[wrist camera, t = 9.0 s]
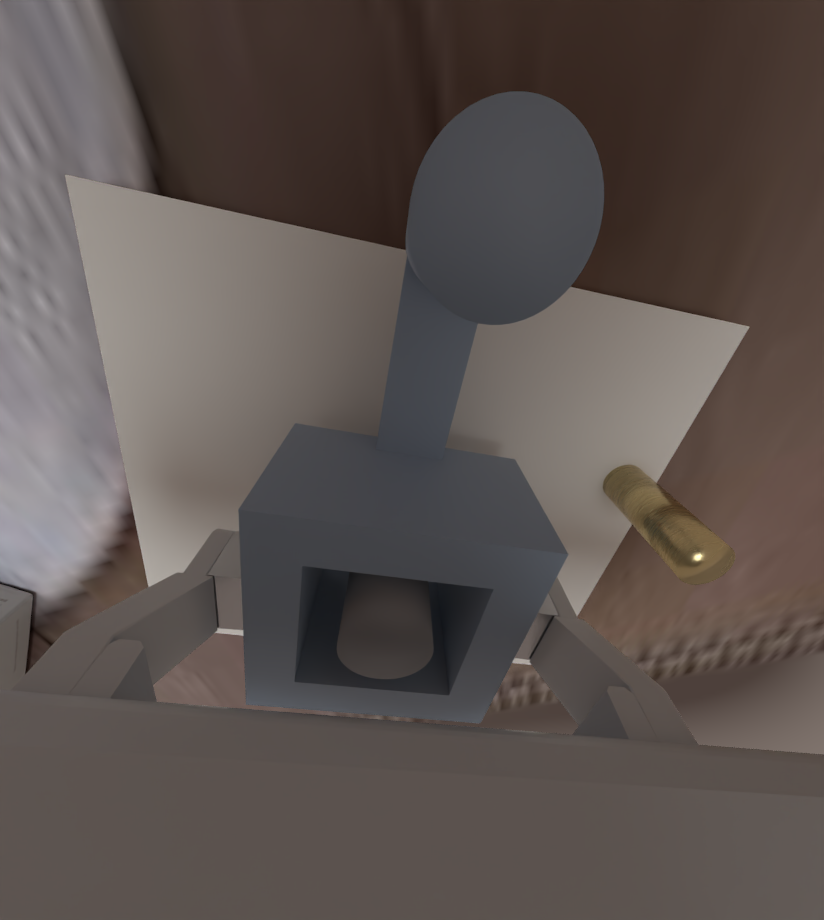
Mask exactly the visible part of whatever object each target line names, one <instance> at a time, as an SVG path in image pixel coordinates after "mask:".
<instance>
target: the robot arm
mask: <svg viewBox="0 0 824 920" xmlns="http://www.w3.org/2000/svg"><path fill="white" fill-rule="evenodd" d="M217 628H220V629H234V630H243V613H242V588H241V563H240V538H239V531H231V530H224V529H218V528H217V529H216V530H214V531H213V532H212V533H211V534H210V536H209V537H208V539H207V540H206V541H205V543H204V544H203V546H202V547H201V548H200V550H199V551H198V553H197V554H196V555H195V557H194V558H193V560H192V561H191V562H190V564H189V565H188V567H187V568H186V570H185V571H184V572H183V573H179V572H177V573H175V574H173V575H171V576H169V577H167V578H165V579H163V580H161V581H160V582H158V583H156V584H154V585H152V586H150V587H148V588H146V589H144V590H142V591H141V592H139V593H137V594H135V595H133V596H131V597H129V598H127V599H125V600H124V601H122V602H120V603H118V604H116V605H114V606H112V607H110V608H108V609H106V610H105V611H103V612H101V613H99V614H97V615H95V616H93V617H91V618H89V619H88V620H86V621H84V622H82V623H80V624H78V625H76V626H74V627H72V628H71V629H69V630H67V631H65V632H64V633H63V634H62V635H61V636H60V637H59V638H58V639H57V641H56V642H55V643H54V644H53V645H52V646H51V647H50V648H49V649H48V650H47V651H46V653H45V654H44V655H43V656H42V657H41V658H40V659H39V660H38V661H37V662H36V663H35V664H34V666H33V667H32V668H31V669H30V670H29V671H28V672H27V673H26V674H25V675H24V676H23V678H22V679H21V680H20V681H19V682H18V683H17V684H16V685H15V686H14V687H13V688H12V690H0V920H824V755H823V754H810V753H796V752H784V751H771V750H759V749H746V748H733V747H721V746H708V745H698V743H697V742H696V740H695V739H694V737H693V735H692V734H691V732H690V730H689V729H688V727H687V725H686V724H685V722H684V720H683V719H682V717H681V715H680V714H679V712H678V711H677V709H676V707H675V706H674V704H673V702H672V701H671V699H670V697H669V696H668V694H667V693H666V691H665V690H664V689H663V688H662V687H661V686H660V685H659V684H657V683H656V682H655V681H654V680H653V679H652V678H650V677H649V676H648V675H647V674H646V673H645V672H643V671H642V670H641V669H640V668H639V667H638V666H636V665H635V664H634V663H633V662H632V661H631V660H629V659H628V658H627V657H626V656H625V655H624V654H623V653H621V652H620V651H619V650H618V649H617V648H616V647H614V646H613V645H612V644H611V643H610V642H609V641H607V640H606V639H605V638H604V637H603V636H602V635H600V634H599V633H598V632H597V631H596V630H595V629H593V628H592V627H591V626H590V625H589V624H588V623H587V622H585V621H584V620H582V619H578V618H577V616H576V614H575V612H574V610H573V608H572V606H571V604H570V602H569V600H568V598H567V596H566V594H565V592H564V590H563V588H562V586H561V584H560V582H559V580H558V577H556V579H555V581H554V583H553V585H552V587H551V589H550V591H549V593H548V595H547V597H546V599H545V600H544V602H543V604H542V606H541V608H540V610H539V612H538V614H537V616H536V618H535V620H534V621H533V623H532V625H531V627H530V629H529V631H528V633H527V635H526V637H525V639H524V641H523V643H522V644H521V646H520V648H519V650H518V652H517V654H516V656H515V658H518V659H526V660H530V661H529V662H530V663H531V664H532V666H533V667H534V668H535V670H536V671H537V672H538V673H539V675H540V676H541V677H542V679H543V680H544V681H545V682H546V684H547V685H548V686H549V688H550V689H551V690H552V692H553V693H554V694H555V695H556V697H557V698H558V699H559V701H560V702H561V703H562V705H563V706H564V707H565V708H566V710H567V711H568V712H569V714H570V715H571V716H572V717H573V719H574V720H575V721H576V723H577V724H578V725H579V726H578V728H577V729H576V730H575V732H574V733H573V734H572V735H569V734H557V733H543V732H531V731H518V730H505V729H493V728H480V727H467V726H455V725H442V724H429V723H416V722H404V721H391V720H378V719H366V718H353V717H340V716H328V715H315V714H302V713H290V712H277V711H264V710H252V709H239V708H227V707H214V706H201V705H189V704H176V703H164V702H157V701H156V697H155V693H154V688H153V684H155V683H156V682H157V681H158V680H159V679H161V678H162V677H163V676H164V675H165V674H166V673H168V672H169V671H170V670H171V669H172V668H174V667H175V666H176V665H177V664H178V663H179V662H181V661H182V660H183V659H184V658H185V657H187V656H188V655H189V654H190V653H191V652H193V651H194V650H195V649H196V648H197V647H198V646H200V645H201V644H202V643H203V642H204V641H206V640H207V639H208V638H209V637H210V636H211V635H213V634H214V633H215V632H216V631H217V630H218V629H217Z"/></svg>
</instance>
